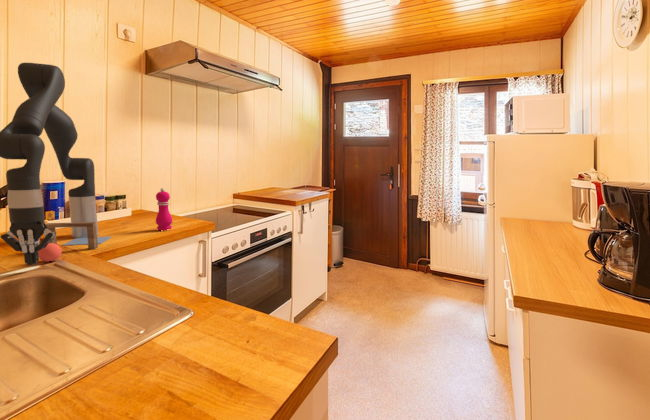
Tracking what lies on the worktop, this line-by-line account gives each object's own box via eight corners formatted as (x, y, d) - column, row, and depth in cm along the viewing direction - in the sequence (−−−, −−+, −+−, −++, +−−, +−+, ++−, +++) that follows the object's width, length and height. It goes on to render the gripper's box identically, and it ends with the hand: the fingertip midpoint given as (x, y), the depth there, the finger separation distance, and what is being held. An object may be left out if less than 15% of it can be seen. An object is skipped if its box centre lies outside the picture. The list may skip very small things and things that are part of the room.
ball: (44, 259, 111) (42, 241, 110) (65, 258, 113) (64, 240, 112) (34, 264, 105) (32, 245, 105) (56, 263, 107) (55, 244, 106)
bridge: (50, 249, 124) (48, 223, 122) (97, 247, 128) (95, 221, 126) (46, 251, 121) (44, 224, 120) (94, 249, 125) (92, 223, 124)
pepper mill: (166, 231, 158) (164, 188, 155) (152, 230, 160) (150, 188, 157) (176, 228, 165) (174, 187, 162) (162, 228, 167) (160, 187, 164)
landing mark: (76, 238, 142) (76, 237, 142) (112, 236, 146) (111, 236, 146) (62, 245, 130) (61, 244, 130) (100, 243, 133) (100, 243, 133)
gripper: (59, 203, 102) (64, 259, 104) (6, 204, 99) (12, 262, 101) (46, 206, 95) (52, 266, 97) (-12, 207, 92) (-4, 269, 94)
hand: (32, 264), depth 99 cm, fingers closed
